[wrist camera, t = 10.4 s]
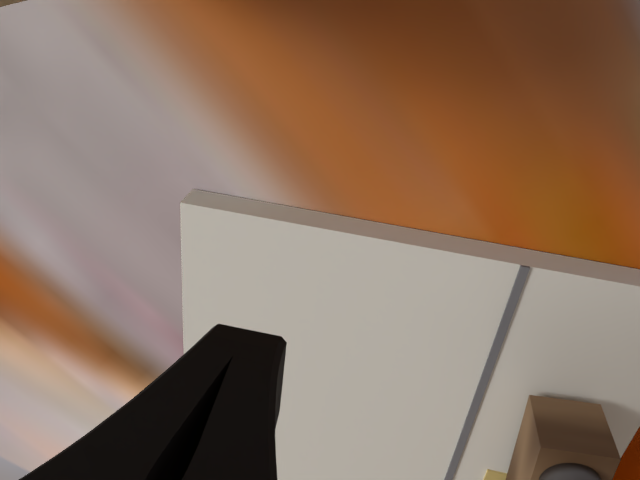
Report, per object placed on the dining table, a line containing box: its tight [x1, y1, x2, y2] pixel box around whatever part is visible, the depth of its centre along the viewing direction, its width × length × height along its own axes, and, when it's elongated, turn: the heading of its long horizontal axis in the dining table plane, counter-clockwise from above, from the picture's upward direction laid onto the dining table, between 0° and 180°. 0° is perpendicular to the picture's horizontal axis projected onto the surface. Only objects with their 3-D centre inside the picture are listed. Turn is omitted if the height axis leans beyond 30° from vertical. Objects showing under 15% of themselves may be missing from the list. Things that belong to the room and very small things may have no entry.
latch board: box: [180, 189, 640, 480], centre depth 23 cm, size 18×18×1 cm
